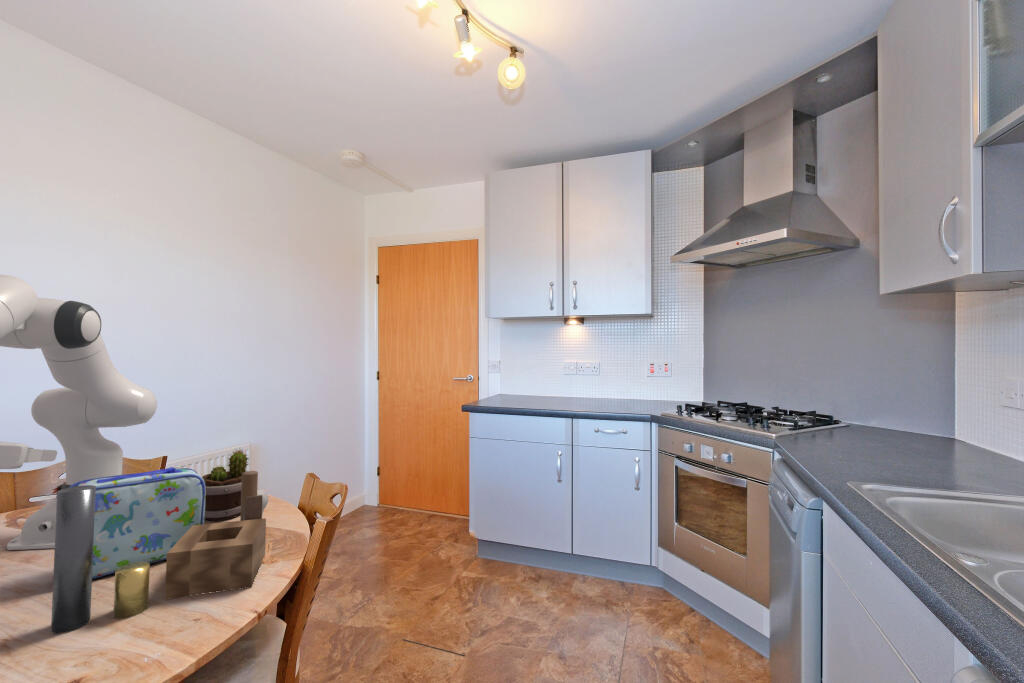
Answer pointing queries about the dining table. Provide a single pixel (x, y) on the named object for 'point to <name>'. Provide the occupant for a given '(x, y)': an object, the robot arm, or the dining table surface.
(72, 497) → the steel pin
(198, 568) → the block
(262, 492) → the lightbulb
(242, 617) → the dining table surface
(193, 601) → the dining table surface
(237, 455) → the flowerpot
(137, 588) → the brass pin
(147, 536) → the lunch box
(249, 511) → the wooden block
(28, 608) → the dining table surface
